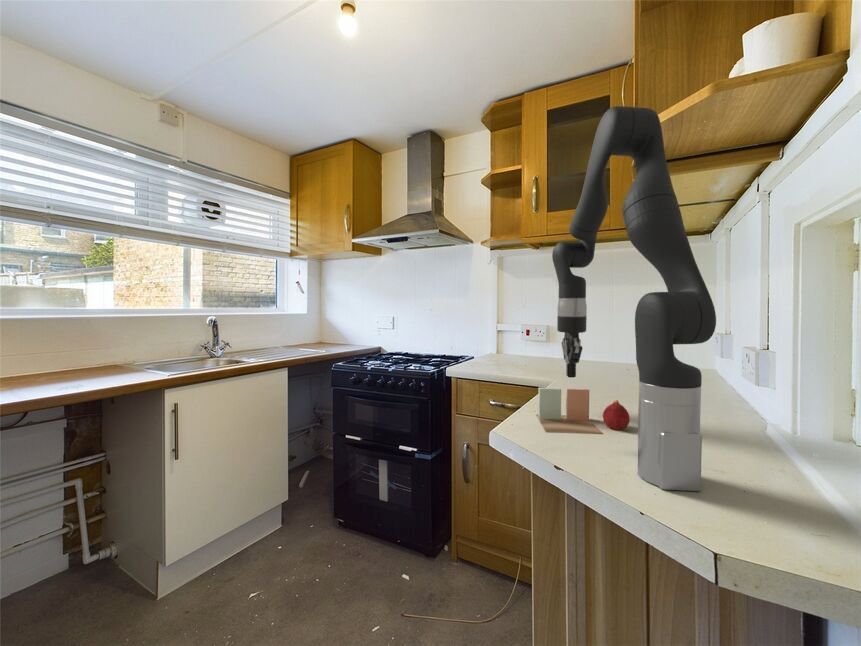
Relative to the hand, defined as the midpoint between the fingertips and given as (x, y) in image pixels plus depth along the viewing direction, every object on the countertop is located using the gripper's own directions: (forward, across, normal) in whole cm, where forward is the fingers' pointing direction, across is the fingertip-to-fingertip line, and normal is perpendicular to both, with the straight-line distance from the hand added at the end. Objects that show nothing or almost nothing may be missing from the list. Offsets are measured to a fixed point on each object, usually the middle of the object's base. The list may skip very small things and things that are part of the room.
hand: (570, 376), depth 102 cm
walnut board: (+11, -11, +4) cm, 16 cm away
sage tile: (+10, -7, +7) cm, 14 cm away
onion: (+11, -13, -8) cm, 19 cm away
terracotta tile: (+10, -7, 0) cm, 12 cm away
